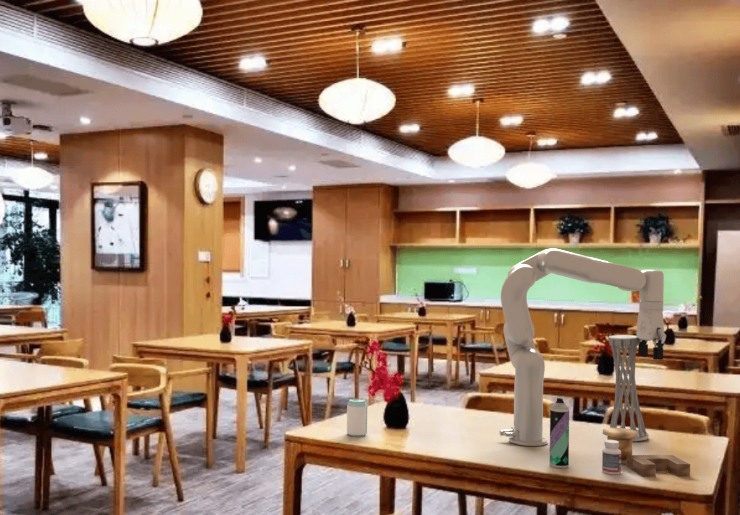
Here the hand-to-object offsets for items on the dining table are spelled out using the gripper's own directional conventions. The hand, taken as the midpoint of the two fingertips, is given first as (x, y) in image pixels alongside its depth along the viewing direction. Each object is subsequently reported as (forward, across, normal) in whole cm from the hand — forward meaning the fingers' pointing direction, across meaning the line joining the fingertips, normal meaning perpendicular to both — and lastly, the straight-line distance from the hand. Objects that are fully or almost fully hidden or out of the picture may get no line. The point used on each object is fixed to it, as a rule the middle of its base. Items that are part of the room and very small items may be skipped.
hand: (650, 357), depth 237 cm
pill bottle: (+30, +30, -28) cm, 50 cm away
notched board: (+30, +30, -14) cm, 44 cm away
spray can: (+30, +22, -40) cm, 55 cm away
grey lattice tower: (+29, -12, -1) cm, 32 cm away
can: (+30, -20, -96) cm, 103 cm away
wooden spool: (+30, +18, -19) cm, 39 cm away
